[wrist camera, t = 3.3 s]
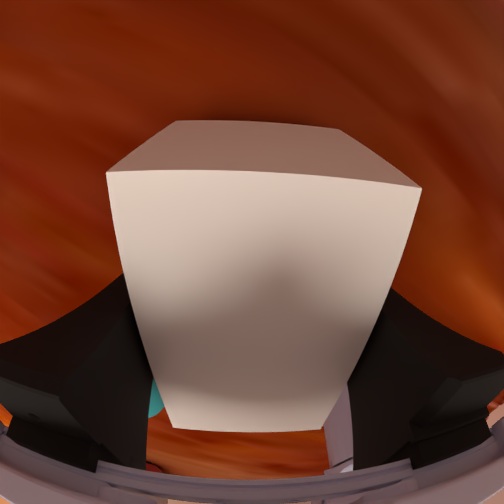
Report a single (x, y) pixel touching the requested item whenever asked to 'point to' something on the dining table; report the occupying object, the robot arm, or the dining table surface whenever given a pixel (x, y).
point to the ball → (155, 400)
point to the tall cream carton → (256, 265)
